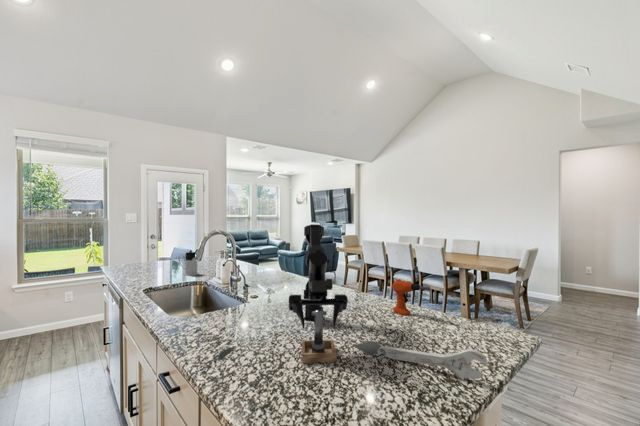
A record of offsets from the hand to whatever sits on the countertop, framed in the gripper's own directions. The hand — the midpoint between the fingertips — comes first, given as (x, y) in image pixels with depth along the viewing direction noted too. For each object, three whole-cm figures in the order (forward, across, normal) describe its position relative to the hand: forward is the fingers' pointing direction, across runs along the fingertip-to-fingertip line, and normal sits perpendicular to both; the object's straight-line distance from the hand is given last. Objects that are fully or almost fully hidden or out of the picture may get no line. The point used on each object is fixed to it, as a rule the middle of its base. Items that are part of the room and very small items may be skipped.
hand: (318, 327), depth 94 cm
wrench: (+12, +30, 0) cm, 33 cm away
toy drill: (-20, +42, +32) cm, 56 cm away
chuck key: (+5, 0, +6) cm, 8 cm away
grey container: (-84, -84, +97) cm, 154 cm away
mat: (+3, +17, +9) cm, 20 cm away
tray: (+6, 0, +7) cm, 9 cm away
